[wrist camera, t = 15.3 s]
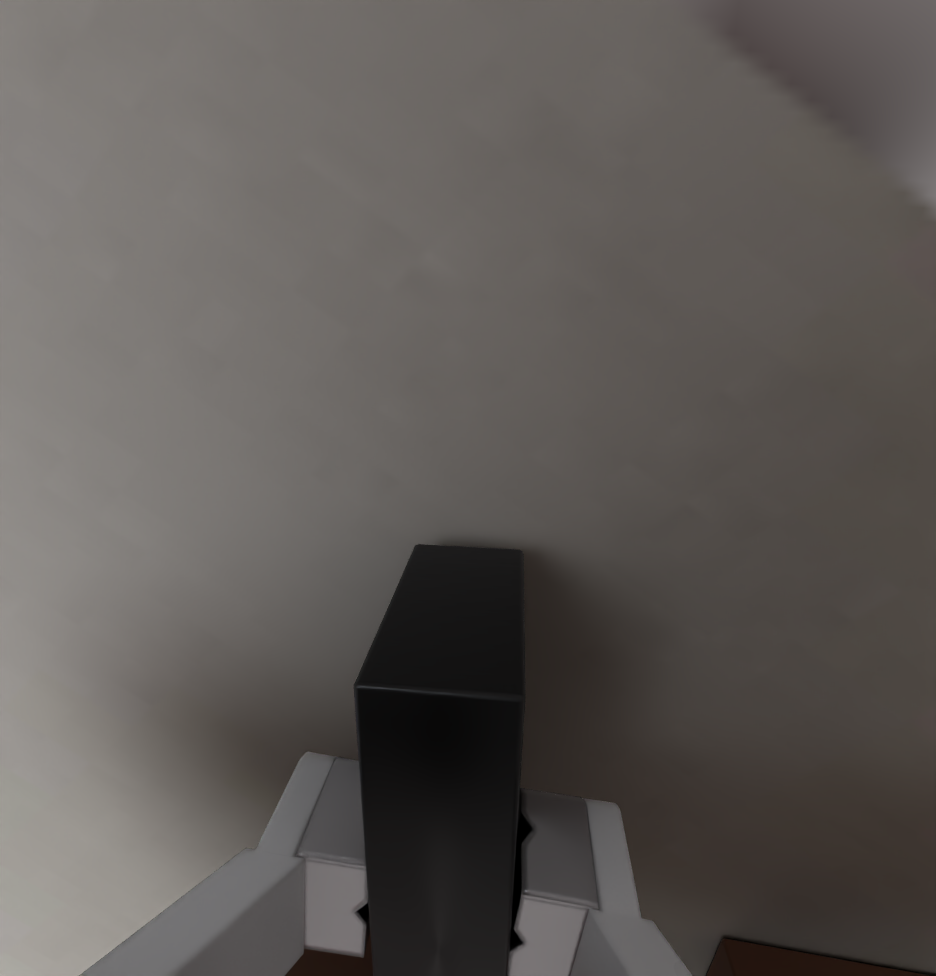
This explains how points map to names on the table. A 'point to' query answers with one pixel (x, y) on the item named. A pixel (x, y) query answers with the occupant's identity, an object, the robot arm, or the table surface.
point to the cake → (787, 963)
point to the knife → (444, 763)
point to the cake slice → (333, 964)
